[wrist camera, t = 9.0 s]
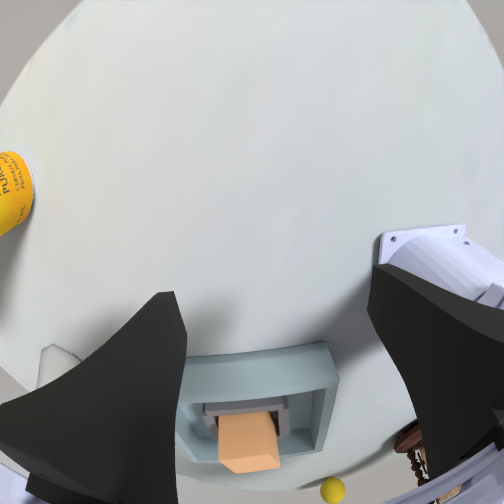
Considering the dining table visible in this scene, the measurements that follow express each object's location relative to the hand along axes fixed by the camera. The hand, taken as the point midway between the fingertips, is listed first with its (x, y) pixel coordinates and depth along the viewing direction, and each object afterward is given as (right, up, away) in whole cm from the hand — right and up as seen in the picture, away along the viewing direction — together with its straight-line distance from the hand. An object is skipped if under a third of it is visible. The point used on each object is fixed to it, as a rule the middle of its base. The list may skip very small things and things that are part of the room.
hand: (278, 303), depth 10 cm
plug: (-1, -14, +16) cm, 22 cm away
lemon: (+17, -49, +35) cm, 63 cm away
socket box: (-2, -14, +17) cm, 22 cm away
